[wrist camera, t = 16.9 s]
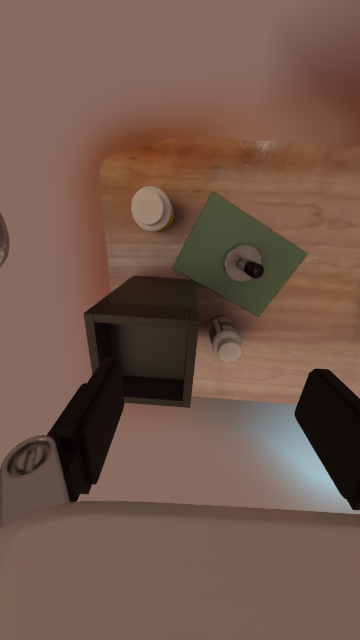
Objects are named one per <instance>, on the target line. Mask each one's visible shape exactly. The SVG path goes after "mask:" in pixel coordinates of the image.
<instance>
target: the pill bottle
mask: <svg viewBox="0 0 360 640" xmlns="http://www.w3.org/2000/svg"><path fill="white" fill-rule="evenodd" d="M209 335H210V339H211V344H212V348H213V350H214V352H215V353H216V354H218V356H219V358H220V359H221V360H222V361H224V362H234V361H236V360H238V359H239V357H240V356H241V353H242V350H241V345H242V341H241V338H240V336H239V334H238V332H237V330H236V328H235V326H234V324H233V322H232V321H231V320H230V319H228V318H226V317H218V318H216V319H214V320H213V321H212V322H211V323H210V325H209Z"/></svg>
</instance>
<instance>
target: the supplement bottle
mask: <svg viewBox="0 0 360 640" xmlns="http://www.w3.org/2000/svg"><path fill="white" fill-rule="evenodd" d="M131 211H132V216H133V218H134V220H135V222H136V223H137V224H138V226H140V227H141V228H142V229H144V230H146V231H150V232H162V231H165V230H167V229H168V228H169V227H170V226H171V224H172V222H173V220H174V209H173V206H172V204H171V202H170V200H169V198H168V197H167V195H166V194H165V193H164V192H163V191H162V190H161V189H159V188H157V187H154V186H146V187H143V188H141V189H140V190H139V191H137V193H136V194H135V195H134V197H133V200H132V204H131Z"/></svg>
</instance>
